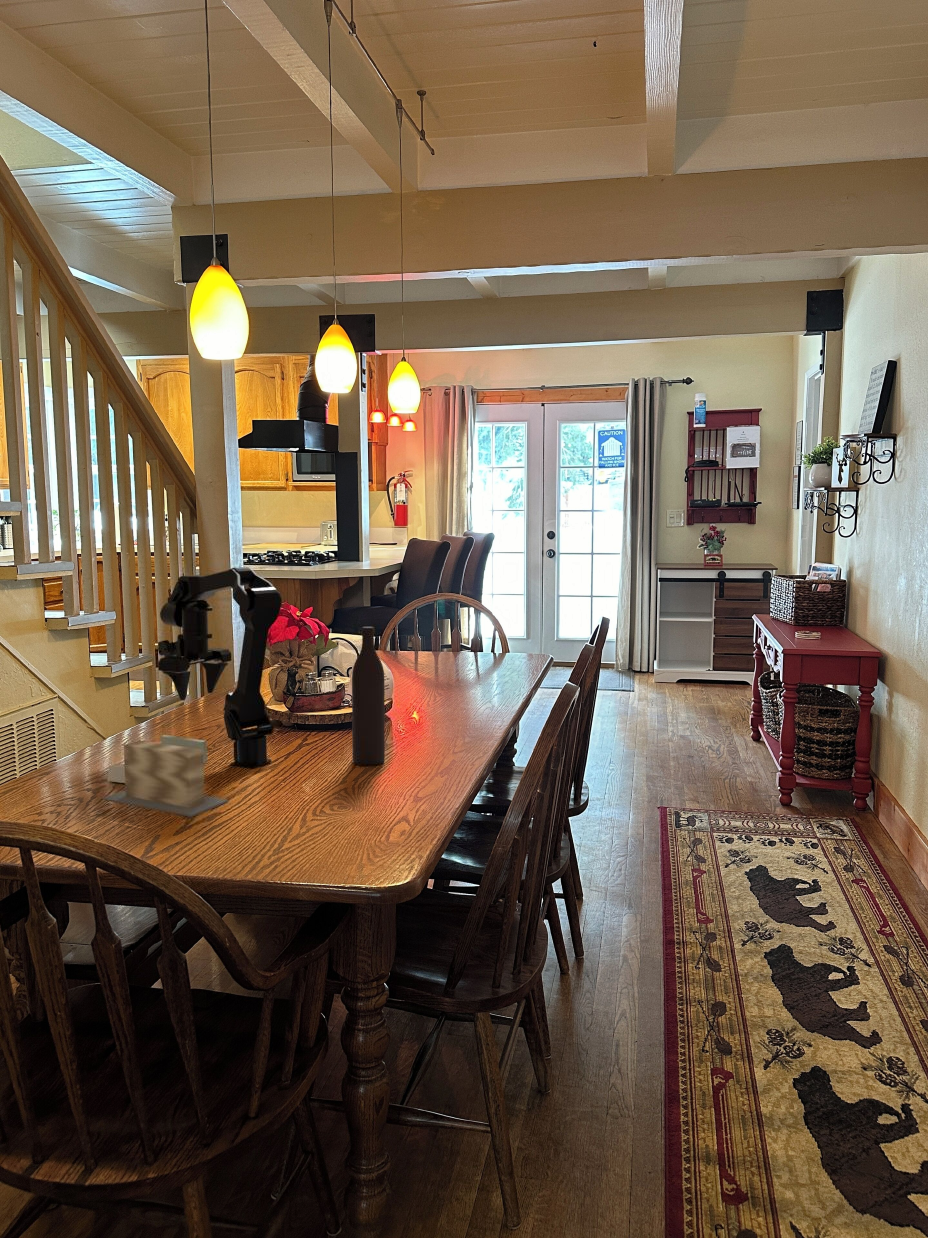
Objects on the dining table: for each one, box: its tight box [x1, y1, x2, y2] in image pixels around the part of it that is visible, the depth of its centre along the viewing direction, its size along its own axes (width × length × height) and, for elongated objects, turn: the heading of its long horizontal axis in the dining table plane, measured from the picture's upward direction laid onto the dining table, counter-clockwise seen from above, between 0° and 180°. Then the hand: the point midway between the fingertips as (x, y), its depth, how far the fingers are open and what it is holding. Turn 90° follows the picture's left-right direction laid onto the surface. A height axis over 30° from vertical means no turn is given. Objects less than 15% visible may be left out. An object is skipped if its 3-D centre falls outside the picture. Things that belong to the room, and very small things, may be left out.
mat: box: [101, 789, 229, 818], centre depth 176 cm, size 22×10×1 cm, turn 64°
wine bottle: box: [351, 626, 386, 767], centre depth 202 cm, size 7×7×30 cm
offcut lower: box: [107, 763, 125, 784], centre depth 187 cm, size 12×4×3 cm, turn 69°
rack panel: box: [160, 734, 208, 765], centre depth 204 cm, size 12×1×5 cm, turn 64°
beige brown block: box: [123, 739, 206, 808], centre depth 175 cm, size 16×4×10 cm, turn 64°
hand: (196, 696), depth 214 cm, fingers open, 9 cm apart
